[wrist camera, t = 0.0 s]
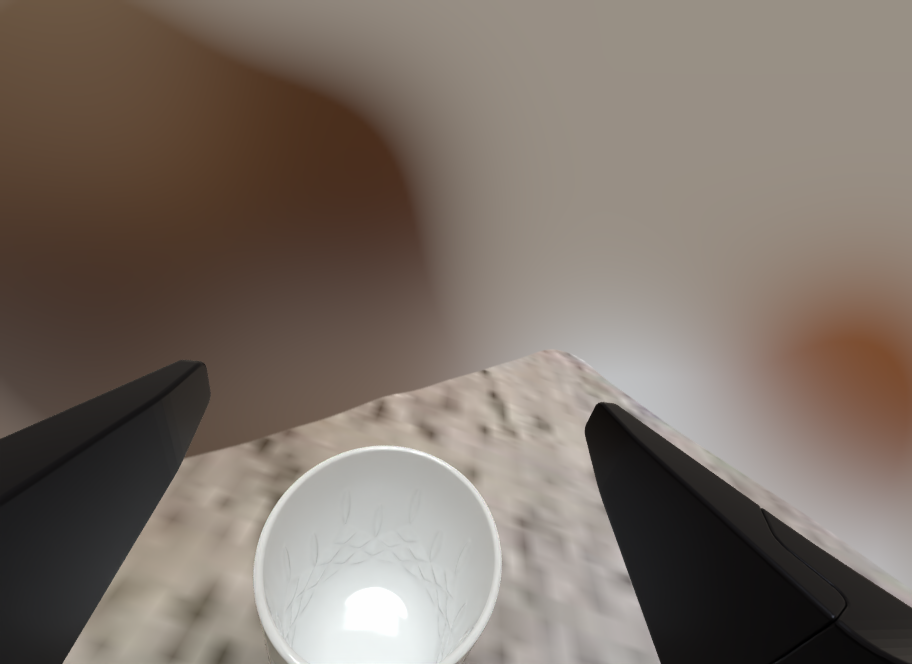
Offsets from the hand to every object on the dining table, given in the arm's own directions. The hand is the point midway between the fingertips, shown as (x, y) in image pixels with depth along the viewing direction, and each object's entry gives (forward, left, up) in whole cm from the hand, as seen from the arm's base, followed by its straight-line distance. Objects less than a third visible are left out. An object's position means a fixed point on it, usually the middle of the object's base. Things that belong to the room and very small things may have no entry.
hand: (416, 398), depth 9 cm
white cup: (+1, 0, -17) cm, 17 cm away
